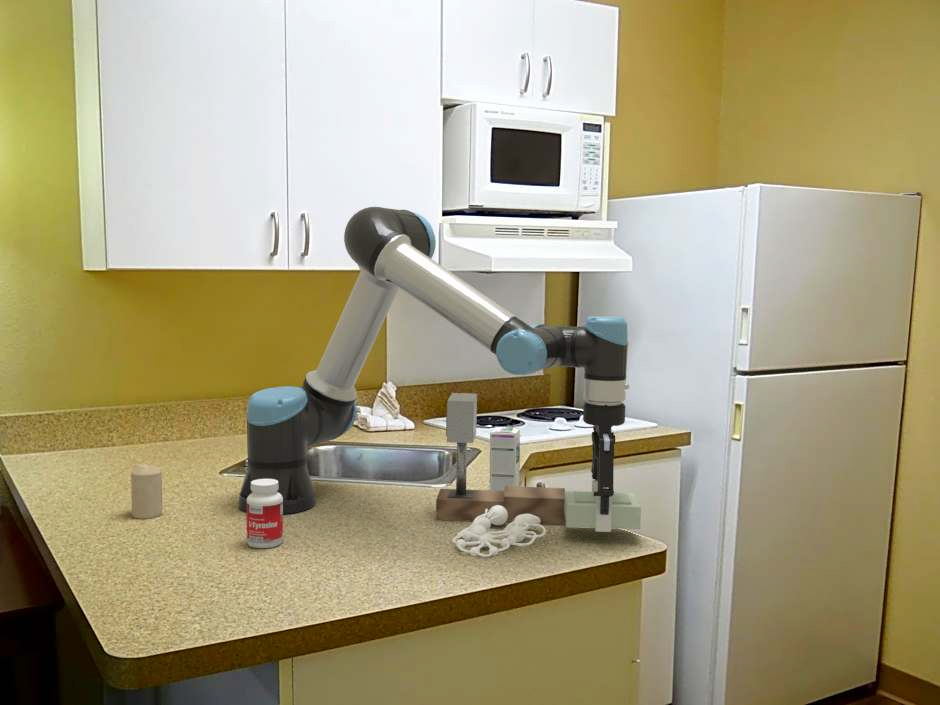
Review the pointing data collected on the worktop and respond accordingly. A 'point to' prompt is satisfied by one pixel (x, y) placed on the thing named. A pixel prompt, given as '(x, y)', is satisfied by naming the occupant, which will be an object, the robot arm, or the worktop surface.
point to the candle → (146, 491)
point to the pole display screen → (461, 431)
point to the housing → (503, 503)
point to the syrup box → (504, 458)
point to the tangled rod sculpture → (497, 517)
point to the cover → (584, 510)
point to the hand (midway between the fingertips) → (600, 522)
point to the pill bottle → (264, 514)
